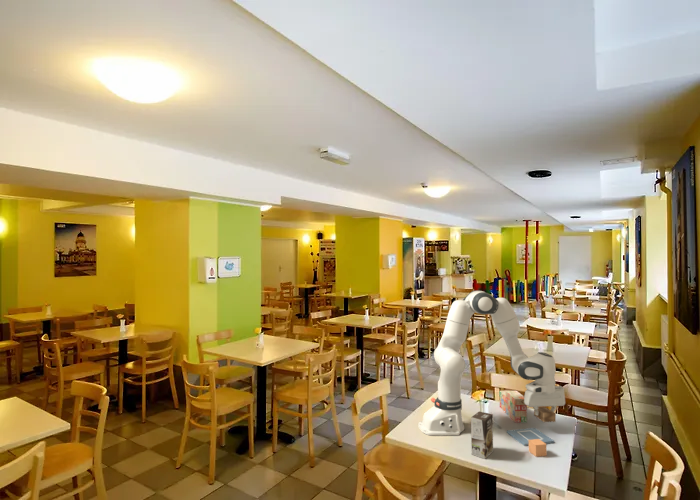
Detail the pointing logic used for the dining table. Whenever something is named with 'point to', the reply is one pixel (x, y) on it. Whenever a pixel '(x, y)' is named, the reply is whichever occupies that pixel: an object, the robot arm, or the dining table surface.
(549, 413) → the walnut brick
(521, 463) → the dining table surface
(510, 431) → the slate-blue board
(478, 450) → the coffee box
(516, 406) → the colourful patterned carton
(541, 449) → the terracotta cube
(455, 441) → the dining table surface
